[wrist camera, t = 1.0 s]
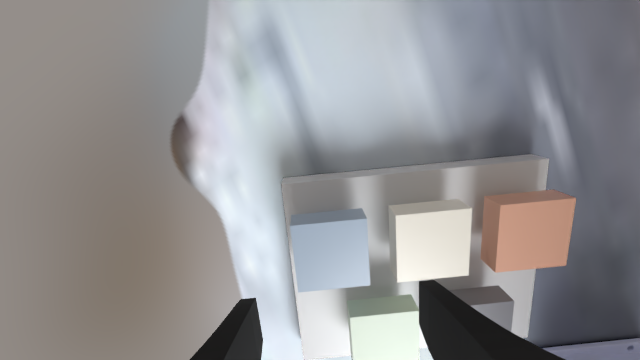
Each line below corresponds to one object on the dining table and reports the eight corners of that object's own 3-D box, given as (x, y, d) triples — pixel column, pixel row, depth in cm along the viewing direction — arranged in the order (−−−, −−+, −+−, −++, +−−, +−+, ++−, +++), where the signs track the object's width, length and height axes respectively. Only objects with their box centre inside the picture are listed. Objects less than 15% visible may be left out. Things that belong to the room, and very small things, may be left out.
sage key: (410, 294, 19) (419, 310, 17) (411, 346, 20) (419, 366, 18) (346, 300, 19) (349, 317, 17) (350, 352, 20) (354, 372, 18)
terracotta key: (553, 189, 17) (576, 198, 16) (545, 252, 18) (566, 265, 17) (484, 196, 17) (500, 205, 16) (480, 258, 18) (495, 272, 17)
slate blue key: (362, 208, 17) (367, 218, 16) (365, 270, 18) (370, 285, 17) (291, 214, 17) (289, 225, 16) (298, 276, 18) (298, 292, 17)
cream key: (458, 198, 17) (472, 208, 16) (455, 261, 18) (468, 275, 17) (388, 205, 17) (395, 215, 16) (389, 267, 18) (397, 282, 17)
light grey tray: (531, 154, 19) (549, 158, 18) (513, 322, 23) (527, 337, 21) (283, 177, 19) (281, 184, 18) (304, 343, 23) (303, 360, 21)
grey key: (498, 285, 19) (514, 301, 17) (494, 337, 20) (508, 356, 18) (434, 291, 19) (445, 308, 17) (433, 343, 20) (443, 363, 18)
